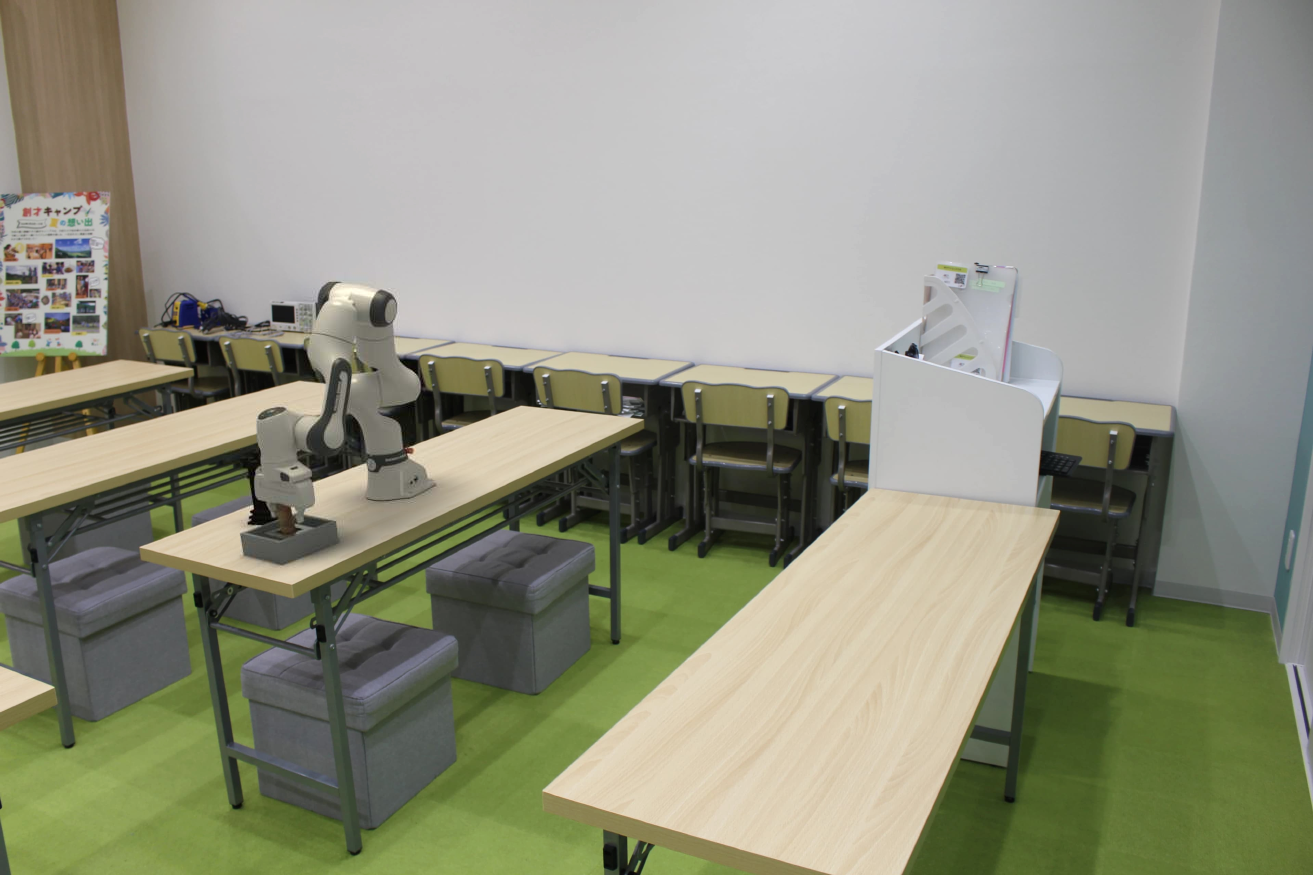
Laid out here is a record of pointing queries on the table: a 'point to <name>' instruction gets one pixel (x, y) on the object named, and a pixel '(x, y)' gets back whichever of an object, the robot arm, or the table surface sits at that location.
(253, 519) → the chess piece
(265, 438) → the robot arm
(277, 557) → the open box
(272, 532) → the grey square frame
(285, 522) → the peg
